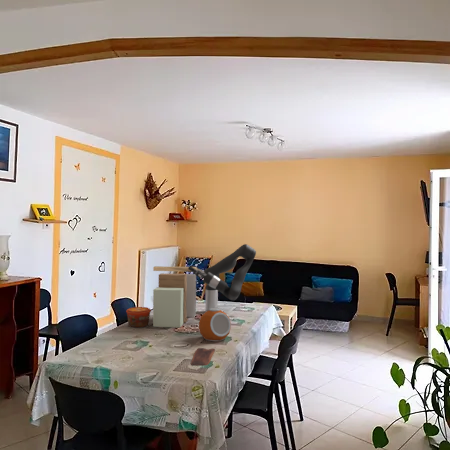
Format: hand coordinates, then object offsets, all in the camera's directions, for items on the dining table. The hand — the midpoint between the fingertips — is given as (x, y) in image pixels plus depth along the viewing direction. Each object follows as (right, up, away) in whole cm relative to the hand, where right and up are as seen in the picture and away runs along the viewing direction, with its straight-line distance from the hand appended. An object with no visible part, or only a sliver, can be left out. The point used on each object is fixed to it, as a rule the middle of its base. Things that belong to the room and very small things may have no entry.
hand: (189, 267), depth 278 cm
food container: (-34, -39, +1) cm, 51 cm away
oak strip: (-10, -3, +1) cm, 10 cm away
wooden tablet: (+12, -41, -61) cm, 74 cm away
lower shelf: (-14, -38, +2) cm, 41 cm away
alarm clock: (+17, -39, -27) cm, 51 cm away
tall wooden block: (-13, -38, +14) cm, 43 cm away
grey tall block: (-5, -38, +29) cm, 48 cm away
